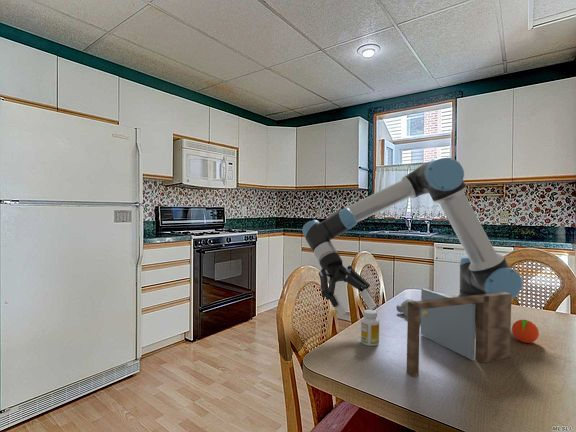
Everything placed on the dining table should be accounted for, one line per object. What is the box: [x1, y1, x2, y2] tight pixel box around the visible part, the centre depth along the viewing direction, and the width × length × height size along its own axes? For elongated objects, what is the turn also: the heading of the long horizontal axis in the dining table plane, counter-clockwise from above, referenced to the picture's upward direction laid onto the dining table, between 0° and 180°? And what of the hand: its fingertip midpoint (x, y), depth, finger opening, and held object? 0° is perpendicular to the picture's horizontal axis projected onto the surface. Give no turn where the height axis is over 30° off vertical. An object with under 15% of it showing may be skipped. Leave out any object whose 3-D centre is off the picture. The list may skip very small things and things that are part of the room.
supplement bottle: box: [360, 309, 380, 347], centre depth 100 cm, size 5×5×10 cm
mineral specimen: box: [396, 298, 421, 322], centre depth 124 cm, size 16×7×7 cm, turn 23°
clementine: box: [511, 319, 540, 344], centre depth 102 cm, size 8×7×7 cm
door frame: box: [405, 292, 512, 378], centre depth 87 cm, size 34×2×18 cm, turn 110°
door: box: [420, 288, 476, 360], centre depth 98 cm, size 19×3×15 cm, turn 20°
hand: (359, 311), depth 103 cm, fingers open, 13 cm apart
